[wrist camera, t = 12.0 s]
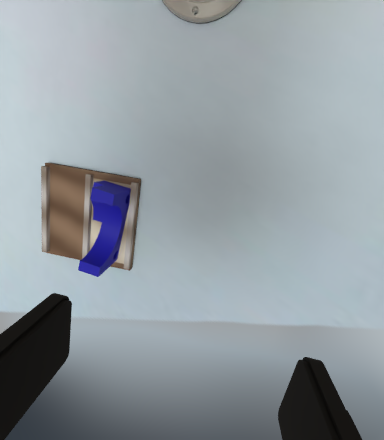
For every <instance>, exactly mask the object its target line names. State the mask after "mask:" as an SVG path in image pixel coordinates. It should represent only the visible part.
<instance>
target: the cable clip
mask: <svg viewBox="0 0 384 440" xmlns="http://www.w3.org/2000/svg"><path fill="white" fill-rule="evenodd" d="M130 192H131V189H130V188H127V187H124V186H121V185H117V184H114V183H111V182H108V181H105V180H104V181H98V182H94V185H93V187H92V192H91V198H90V199H91V202H92V204H93V220H96V221H99V222H102V224H101V228H100V232H99V234H98V237H97V239H96V241H95V243H94V245H93V247H92V248H91V250H90V251H89V252H88V254H87V255H86V256H85V257H84V258H83V259H82V260H80V263H79V269H78V270H79V271H82V272H85V273H88V274H91V275H94V276H97V277H99V276H100V275H101V274H102V273H103V272H104V271H105V270H106V269H107V268H109V267H110V266H111V265H112V264H113V263H114V262H115V261H116V260H117V258H118V254H119V249H120V244H121V240H122V235H123V231H124V226H125V221H126V217H127V212H128V208H129V203H130Z"/></svg>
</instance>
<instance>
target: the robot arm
mask: <svg viewBox="0 0 384 440" xmlns="http://www.w3.org/2000/svg"><path fill="white" fill-rule="evenodd" d="M162 1H163V2H164V4H165V5H166V6H167V7H168V8H169V10H170V11H171V12H172V13H174V14H175V15H177V16H178V17H179V18H182V19H184V20H186V21H190V22H195V23H204V22H210V21H213V20H217V19H219V18H221V17H222V16H224V15H226V14H227V13H229V12H230V11H231V10H232V9H234V8H235V7H236V5H237V4H238V3H239V2H240V1H241V0H162ZM195 13H197V15H194V14H195ZM71 307H72V303H71V301H69V298H68V297H67V296H64V295H60V294H56V293H53V294H51V295H50V296H49V297H47V298H46V299H45V300H44V301H42V302H41V303H40V304H38V305H37V306H36V307H35V308H33V309H32V310H31V311H30V312H28V313H27V314H26V315H25V316H23V317H22V318H21V319H19V320H18V321H17V322H16V323H14V324H13V325H12V326H10V327H9V328H8V329H7V330H5V331H4V332H3V333H1V334H0V440H4V439H5V438H6V437H7V435H8V434H9V433H10V432H11V430H12V429H13V428H14V427H15V425H16V424H17V423H18V421H19V420H20V419H21V418H22V416H23V415H24V414H25V412H26V411H27V410H28V409H29V407H30V406H31V405H32V403H33V402H34V401H35V400H36V398H37V397H38V396H39V395H40V393H41V392H42V391H43V389H44V388H45V387H46V385H47V384H48V383H49V382H50V380H51V379H52V378H53V376H54V375H55V374H56V373H57V371H58V370H59V369H60V367H61V366H62V365H63V364H64V362H65V361H66V359H67V357H68V354H69V345H70V324H71ZM278 420H279V425H280V430H281V435H282V439H283V440H362V438H361V436H360V434H359V432H358V430H357V428H356V426H355V424H354V422H353V420H352V418H351V416H350V415H349V413H348V411H347V410H346V409H345V407H344V405H343V403H342V401H341V399H340V397H339V395H338V393H337V390H336V388H335V386H334V384H333V382H332V380H331V378H330V376H329V374H328V372H327V370H326V368H325V366H324V364H323V362H322V361H320V360H316V359H312V358H308V357H304V358H303V360H299V361H298V363H297V365H296V368H295V370H294V373H293V375H292V378H291V380H290V383H289V385H288V388H287V390H286V393H285V395H284V398H283V400H282V403H281V406H280V408H279V412H278Z"/></svg>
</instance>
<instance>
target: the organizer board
mask: <svg viewBox="0 0 384 440" xmlns="http://www.w3.org/2000/svg"><path fill="white" fill-rule="evenodd" d="M104 180H105V181H108V182H111V183H114V184H117V185H121V186H124V187H127V188H130V189H131V192H130V203H129V208H128V212H127V217H126V221H125V226H124V231H123V235H122V240H121V244H120V249H119V254H118V258H117V260H116V261H115V262H114V263H113V264H112V265H111V267H116V268H121V269H125V270H131V268H132V264H133V254H134V244H135V235H136V225H137V215H138V205H139V195H140V186H141V179H138V178H132V177H127V176H121V175H115V174H110V173H104V172H99V171H93V170H87V169H82V168H76V167H70V166H65V165H59V164H53V163H45V166H41V183H42V252H46V253H50V254H55V255H60V256H64V257H69V258H74V259H78V260H82V259H83V258H84V257H85V256H86V255H87V254H88V252H89V251H90V250H91V248H92V247H93V245H94V243H95V241H96V239H97V237H98V234H99V232H100V228H101V224H102V222H99V221H96V220H93V204H92V202H91V199H90V198H91V192H92V187H93V185H94V182H98V181H104Z"/></svg>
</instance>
